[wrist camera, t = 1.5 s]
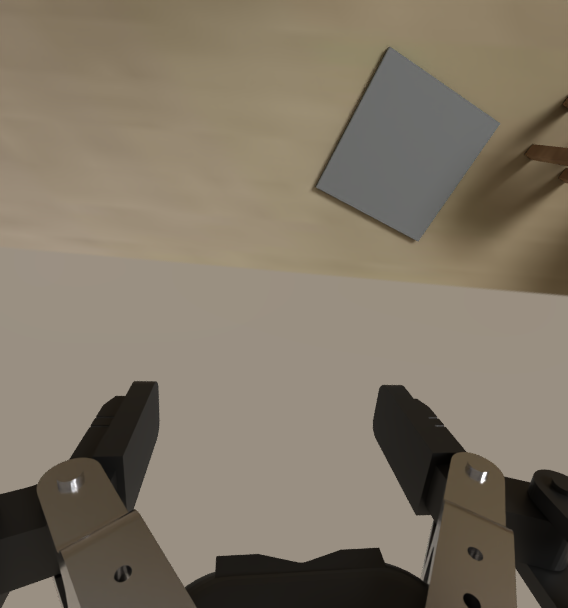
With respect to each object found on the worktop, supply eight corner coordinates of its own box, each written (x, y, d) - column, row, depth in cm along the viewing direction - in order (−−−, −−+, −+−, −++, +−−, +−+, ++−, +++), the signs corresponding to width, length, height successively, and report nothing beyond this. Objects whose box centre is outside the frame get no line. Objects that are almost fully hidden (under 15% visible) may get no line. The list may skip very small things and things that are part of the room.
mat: (388, 47, 28) (390, 46, 28) (497, 123, 31) (500, 123, 31) (315, 186, 33) (316, 187, 33) (416, 240, 36) (418, 241, 36)
